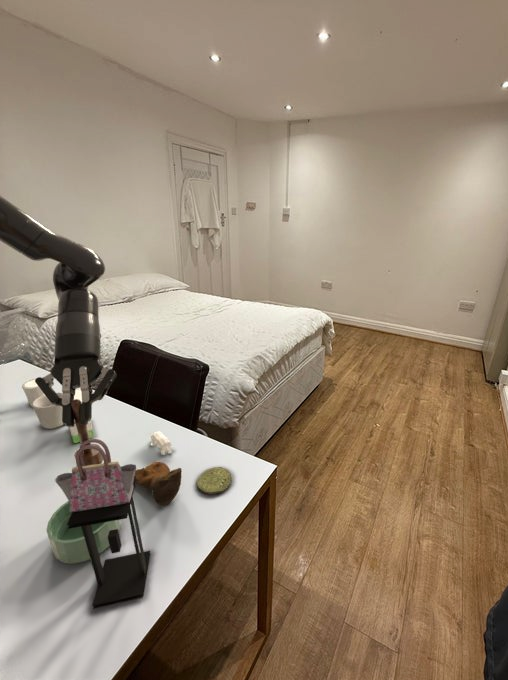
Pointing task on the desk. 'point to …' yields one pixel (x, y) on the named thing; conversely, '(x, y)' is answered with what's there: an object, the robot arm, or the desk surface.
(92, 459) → the brown wooden pestle
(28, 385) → the white cup
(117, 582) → the handbag
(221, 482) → the medallion
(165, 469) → the sculpture
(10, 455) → the desk surface
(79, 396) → the ink box
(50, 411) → the cup
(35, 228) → the robot arm
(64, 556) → the bowl
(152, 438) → the figurine
